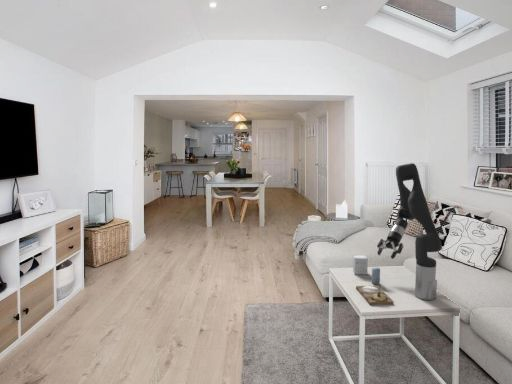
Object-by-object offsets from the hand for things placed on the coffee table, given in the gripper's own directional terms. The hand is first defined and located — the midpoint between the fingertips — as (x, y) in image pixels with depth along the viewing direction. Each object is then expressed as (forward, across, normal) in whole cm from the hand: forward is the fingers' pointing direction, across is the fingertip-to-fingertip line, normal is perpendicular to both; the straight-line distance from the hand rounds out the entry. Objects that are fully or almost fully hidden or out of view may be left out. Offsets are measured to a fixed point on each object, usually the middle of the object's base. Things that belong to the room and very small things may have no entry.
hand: (385, 256), depth 194 cm
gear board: (+28, +9, -8) cm, 30 cm away
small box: (+11, -16, +10) cm, 22 cm away
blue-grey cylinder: (+17, 0, +4) cm, 17 cm away
